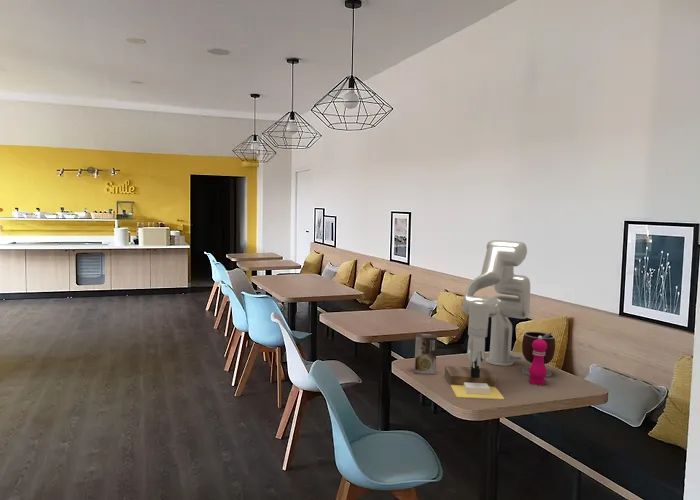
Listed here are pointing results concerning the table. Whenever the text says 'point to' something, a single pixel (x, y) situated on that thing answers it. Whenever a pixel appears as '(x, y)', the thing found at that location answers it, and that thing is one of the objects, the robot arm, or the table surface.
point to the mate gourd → (528, 349)
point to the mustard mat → (462, 394)
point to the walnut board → (468, 376)
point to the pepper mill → (538, 362)
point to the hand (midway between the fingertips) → (475, 377)
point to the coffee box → (425, 353)
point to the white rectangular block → (476, 388)
